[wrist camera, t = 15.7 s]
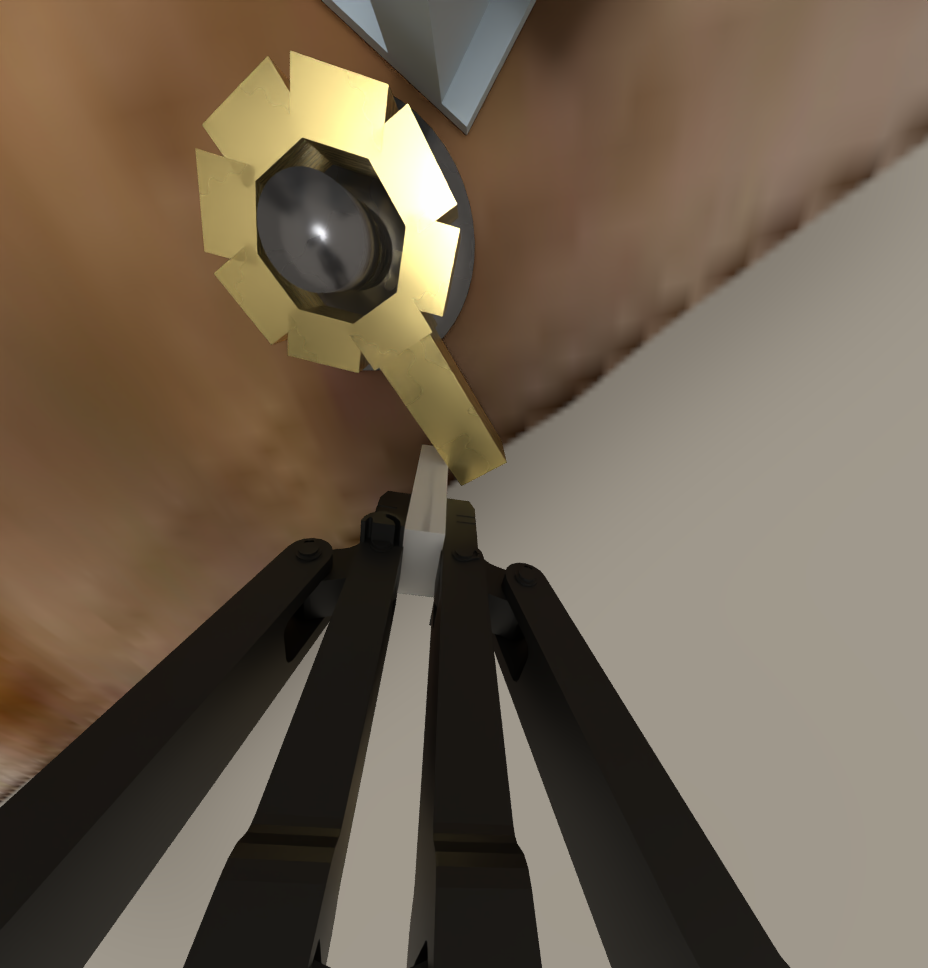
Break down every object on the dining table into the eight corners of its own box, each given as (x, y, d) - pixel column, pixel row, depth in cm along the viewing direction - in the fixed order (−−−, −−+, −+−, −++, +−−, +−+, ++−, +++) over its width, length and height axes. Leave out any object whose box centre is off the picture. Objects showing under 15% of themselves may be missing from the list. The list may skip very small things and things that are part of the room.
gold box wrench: (200, 203, 13) (143, 186, 10) (370, 39, 11) (345, -26, 8) (416, 486, 18) (409, 515, 16) (554, 411, 16) (568, 433, 14)
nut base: (216, 282, 15) (100, 283, 10) (299, 15, 11) (177, -180, 7) (403, 403, 18) (380, 448, 13) (520, 215, 14) (548, 179, 9)
